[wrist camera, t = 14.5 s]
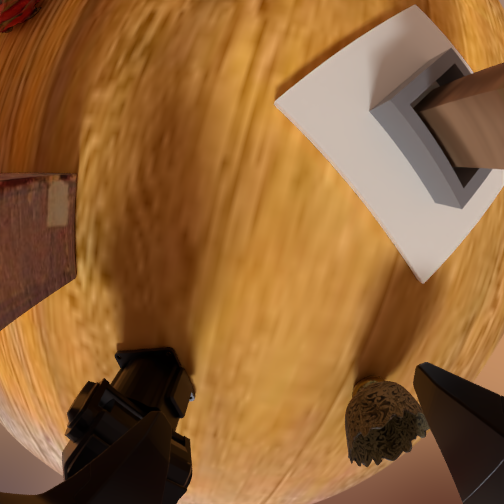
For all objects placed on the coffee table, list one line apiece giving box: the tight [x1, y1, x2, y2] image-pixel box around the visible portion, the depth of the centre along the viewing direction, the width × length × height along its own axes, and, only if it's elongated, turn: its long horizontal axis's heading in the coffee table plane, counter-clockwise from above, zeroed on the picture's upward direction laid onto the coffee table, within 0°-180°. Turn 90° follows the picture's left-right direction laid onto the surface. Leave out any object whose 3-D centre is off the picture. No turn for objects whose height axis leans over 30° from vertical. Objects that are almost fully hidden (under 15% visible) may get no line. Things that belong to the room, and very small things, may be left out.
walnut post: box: [413, 63, 504, 170], centre depth 10 cm, size 5×5×13 cm
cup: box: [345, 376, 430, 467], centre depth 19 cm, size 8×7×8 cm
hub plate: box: [274, 5, 504, 284], centre depth 15 cm, size 18×18×4 cm
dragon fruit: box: [0, 0, 42, 33], centre depth 9 cm, size 8×8×12 cm
